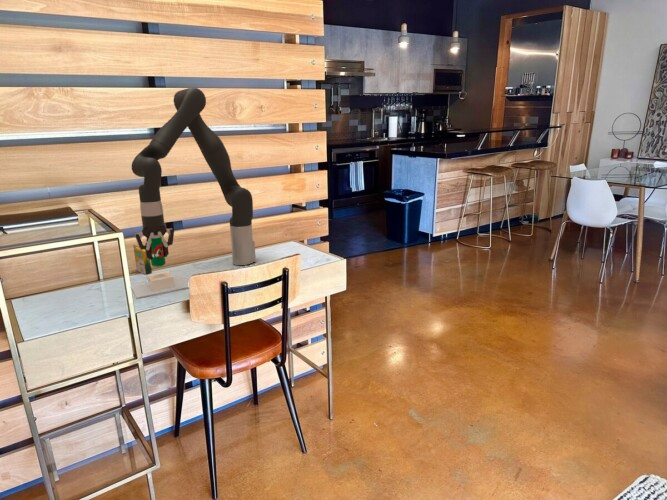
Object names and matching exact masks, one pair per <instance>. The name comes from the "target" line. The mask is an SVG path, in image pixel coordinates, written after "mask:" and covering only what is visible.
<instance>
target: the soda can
mask: <svg viewBox="0 0 667 500" xmlns="http://www.w3.org/2000/svg"><path fill="white" fill-rule="evenodd" d="M150 252H151V260H150V263H151V267H156V268H159V267H163V266H165V265H166V257H165V253H164V245H163V242H162V237H160V236H159V235H158V234H157V235H154V236H153V237H152V238H151V245H150Z"/></svg>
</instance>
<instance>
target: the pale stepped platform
mask: <svg viewBox="0 0 667 500" xmlns="http://www.w3.org/2000/svg"><path fill="white" fill-rule="evenodd" d="M146 278H147V281H146V282H142V283H136V284H131V285H132V289H131V291H132V293H133V295H134V296H135V298H136V299H137V300H139V299H144V298H149V297H154V296H158V295H163V294H168V293H173V292H177V291H183V290H187V289H189V288H188V281H189V280H188V279H187V278H186V277H185V276H184V275H178V276H174V275H173V274H172V273H171V272H170V271H169V270H166V271H161V272H155V273H149V274H146Z"/></svg>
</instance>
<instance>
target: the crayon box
mask: <svg viewBox="0 0 667 500" xmlns="http://www.w3.org/2000/svg"><path fill="white" fill-rule="evenodd" d="M132 247H133V254H134V259H135V260H134V261H135V268H136V272H139V273H141V274H142V275H146V276H147V275H149V274H153V273H152V265H151V260H149V259H148V258H147V257H146V251H145V250H144V249H141V248H140V247H139V245H136V244H133V246H132Z"/></svg>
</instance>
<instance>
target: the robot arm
mask: <svg viewBox="0 0 667 500" xmlns="http://www.w3.org/2000/svg"><path fill="white" fill-rule="evenodd" d="M206 98H207V97H206V95H205V93H204V91H202V90H201V89H199V88H197V87H188V88H185V89H181V90H179V91H176V92H175V94H173V105H174V108H175V110H176V112H175V113H174V114H173V115H172V117H171V118H169V120H167V122H166V123H164V124H163V125H162V126H161V127H160V128H159V129H158V131H157V132H156V133H155V134H154V136H153V137H152V139H151V140H150V142H149V143H148V144H147V146H145V147H144V148H142V150H141V151H140V152H139V153H138V154H137V155H136V156H135V157H134V158H133V160H132V162H131V171H132V173H133V174H134V175H135V176H137V177H141V178H143V184H141V185H140V186H139V187H138V195H139V207H140V209H139V210H140V216H141V225H142V230H141V231H139V232H135V233H134V234H133V235H134V236H135V240H136V243H137V246H139V247H140V248H141V249H144V250H145V251H146V257H147V258H148V259H149V260H150V261H151V252H150V245H151V238H152V237H153V236H154V235H157V234H158V235H159V236H160V237H162V242H163V245H164V253H165V258H166V257H168V256H169V254H170V253H169V246H172V245H173V243H174V235H175V229H174V228H172V227H170V228H167V227H166V225H165V217H164V216H165V215H164V209H163V203H162V200H161V199H162V198H161V191H160V188H161V181H162V173H163V172H162V166H161V163H160V162H159V160H161V159H165V158H166V157H167V156H168V155H169V153H170V152H171V150H172V149H173V147H174V146H175V144H176V143H177V141H178V140H179V138H180V137H181V135H182V134H183V133H184V131H185V130H186V129H187V128H188V130H189V131H190V134H191V135H192V137H193V139H194V141H195V143H196V145H197V146H198V147H199V151H200V152H201V154H202V156H203V158H204V160H205V162H206V163H207V165H208V167H209V169H210V171H211V172H212V174H213V176H214V178H215V179H216V181H217V183H218V186H219V187H220V189H221V193H222V195H223V197H224V200H225V202H226V203H227V204H228V206H230V207H231V210H232V211H231V214H232V215H231V217H230V218H229V230H230V245H231V257H232V258H231V260H232V265H234V264H235V265H234V266H238V265H244V264H250V263H253V262H255V263H257V262H256V260H257V259H256V244H255V243H256V241H255V240H254V238H253V223H252V220H253V218H254V207H253V205H254V202H253V195H252V192H250V190H249V189H248V188H245V187H242V186H241V185H240V184H239V182H238V180H237V179H236V177H235V175H234V173H233V170H232V165H231V164H232V163H231V159H230V156H229V152H228V150H227V149H226V146H225V145H224V143H223V141H222V139H221V138H220V137H219V136H218V135H217V134H216V133H215V131H214V130H213V129H211V127H209V126H208V125H207V124H206V123H205V120H204V119H203V117H202V116H201V112H203V111H204V110H205V108H206V104H207V99H206ZM166 233H167V234H168V237H167V241H166V239H165V237H164V236H165V234H166ZM143 236H144V237H145V238H146V239H145V245H144V244H143V242H142V238H143ZM253 264H254V263H253ZM250 265H251V264H250Z"/></svg>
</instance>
